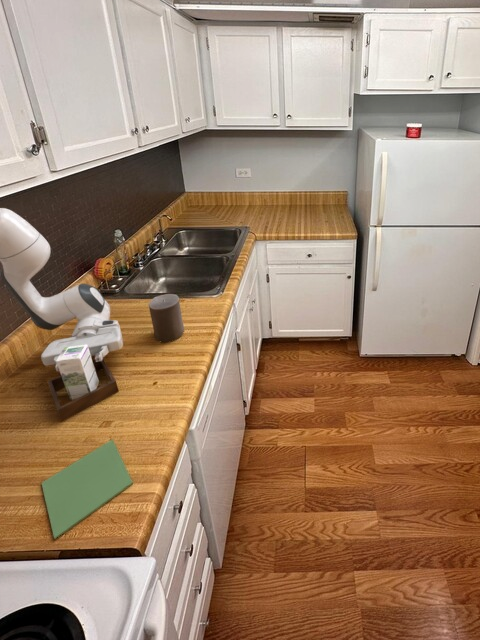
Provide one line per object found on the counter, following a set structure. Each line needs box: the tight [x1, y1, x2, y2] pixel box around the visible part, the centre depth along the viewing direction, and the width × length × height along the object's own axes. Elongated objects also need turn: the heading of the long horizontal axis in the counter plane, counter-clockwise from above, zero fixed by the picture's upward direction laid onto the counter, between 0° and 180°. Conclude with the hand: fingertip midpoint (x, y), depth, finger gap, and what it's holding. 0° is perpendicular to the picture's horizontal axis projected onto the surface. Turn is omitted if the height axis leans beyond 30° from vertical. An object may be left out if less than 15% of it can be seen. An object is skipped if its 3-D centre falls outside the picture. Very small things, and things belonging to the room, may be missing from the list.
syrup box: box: [56, 344, 100, 401], centre depth 92 cm, size 6×6×14 cm
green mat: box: [40, 439, 134, 540], centre depth 72 cm, size 14×14×1 cm
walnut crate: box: [47, 358, 119, 422], centre depth 94 cm, size 14×14×4 cm
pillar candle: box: [148, 293, 185, 343], centre depth 116 cm, size 10×10×15 cm
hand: (79, 364), depth 94 cm, fingers open, 8 cm apart
